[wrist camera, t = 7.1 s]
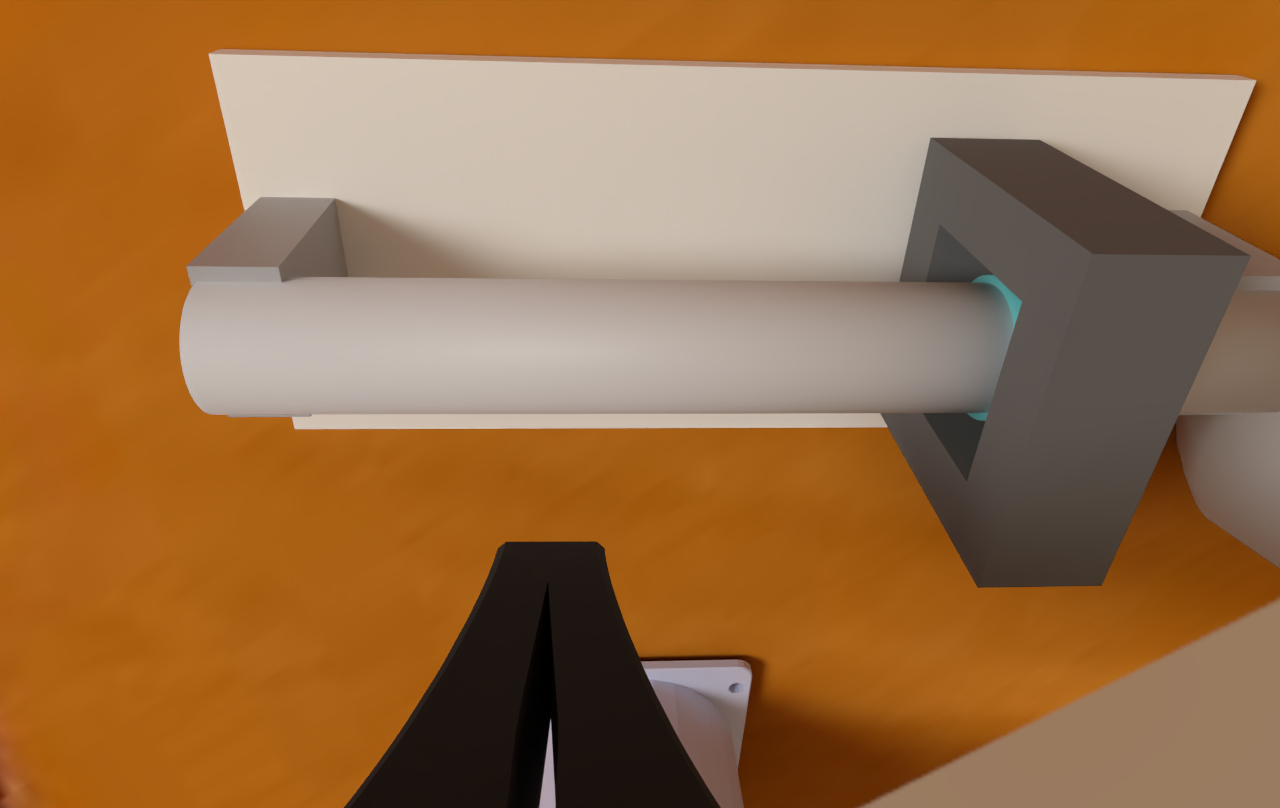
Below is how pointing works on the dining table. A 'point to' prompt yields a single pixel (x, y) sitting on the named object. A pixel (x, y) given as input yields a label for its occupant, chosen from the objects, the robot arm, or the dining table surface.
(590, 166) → the pipe rail
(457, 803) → the robot arm
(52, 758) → the dining table surface
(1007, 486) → the grey square collar
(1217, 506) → the salt shaker
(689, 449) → the dining table surface
